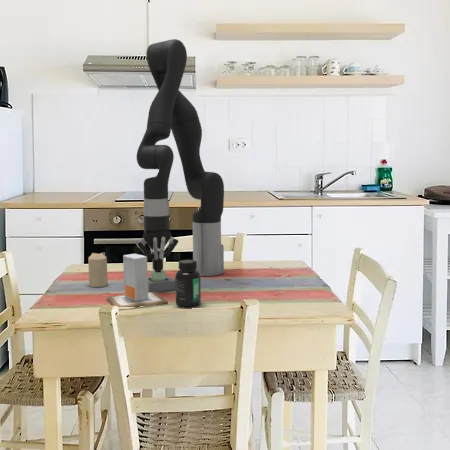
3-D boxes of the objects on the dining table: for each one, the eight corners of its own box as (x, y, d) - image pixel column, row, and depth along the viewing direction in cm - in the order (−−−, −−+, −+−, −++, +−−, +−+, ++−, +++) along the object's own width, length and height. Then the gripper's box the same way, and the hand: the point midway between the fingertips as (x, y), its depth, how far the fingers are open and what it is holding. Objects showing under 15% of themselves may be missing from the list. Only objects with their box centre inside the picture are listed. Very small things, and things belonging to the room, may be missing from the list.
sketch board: (154, 294, 193) (154, 290, 193) (167, 304, 182) (167, 300, 182) (106, 299, 187) (106, 296, 187) (117, 310, 177) (117, 306, 176)
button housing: (167, 284, 204) (166, 275, 204) (175, 290, 197) (175, 280, 196) (141, 287, 201) (141, 277, 200) (149, 293, 194) (149, 283, 193)
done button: (163, 283, 201) (162, 269, 201) (168, 286, 198) (167, 272, 197) (149, 285, 200) (148, 270, 199) (153, 288, 196) (153, 273, 195)
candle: (108, 282, 207) (107, 251, 206) (106, 287, 202) (105, 254, 200) (90, 283, 207) (89, 251, 206) (87, 287, 202) (86, 254, 200)
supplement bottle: (203, 307, 179) (202, 263, 177) (177, 309, 177) (176, 264, 176) (198, 300, 185) (198, 258, 184) (174, 302, 184) (173, 259, 182)
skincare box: (123, 297, 186) (122, 255, 184) (136, 294, 188) (135, 253, 187) (136, 301, 181) (134, 258, 179) (149, 299, 184) (147, 256, 182)
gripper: (173, 210, 201) (174, 267, 204) (131, 213, 196) (132, 271, 199) (182, 213, 195) (183, 272, 197) (138, 216, 189) (139, 276, 192)
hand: (157, 271), depth 198 cm, fingers closed
